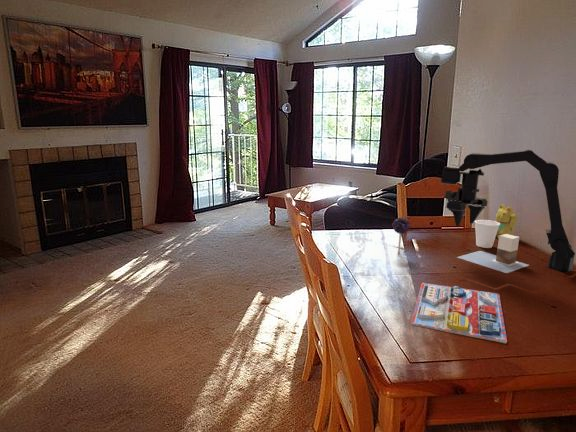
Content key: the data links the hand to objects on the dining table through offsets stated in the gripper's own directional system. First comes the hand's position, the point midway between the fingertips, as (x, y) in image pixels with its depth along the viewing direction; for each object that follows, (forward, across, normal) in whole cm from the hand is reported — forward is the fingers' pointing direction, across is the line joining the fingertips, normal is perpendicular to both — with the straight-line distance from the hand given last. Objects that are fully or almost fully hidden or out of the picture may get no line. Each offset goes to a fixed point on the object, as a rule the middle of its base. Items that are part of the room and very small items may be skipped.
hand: (464, 224), depth 164 cm
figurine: (+13, -40, -5) cm, 43 cm away
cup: (+13, -18, -1) cm, 22 cm away
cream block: (+7, -6, +15) cm, 18 cm away
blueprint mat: (+12, -2, +12) cm, 17 cm away
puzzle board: (+13, +45, +29) cm, 55 cm away
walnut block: (+12, -6, +15) cm, 20 cm away
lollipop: (+13, +21, -14) cm, 28 cm away
